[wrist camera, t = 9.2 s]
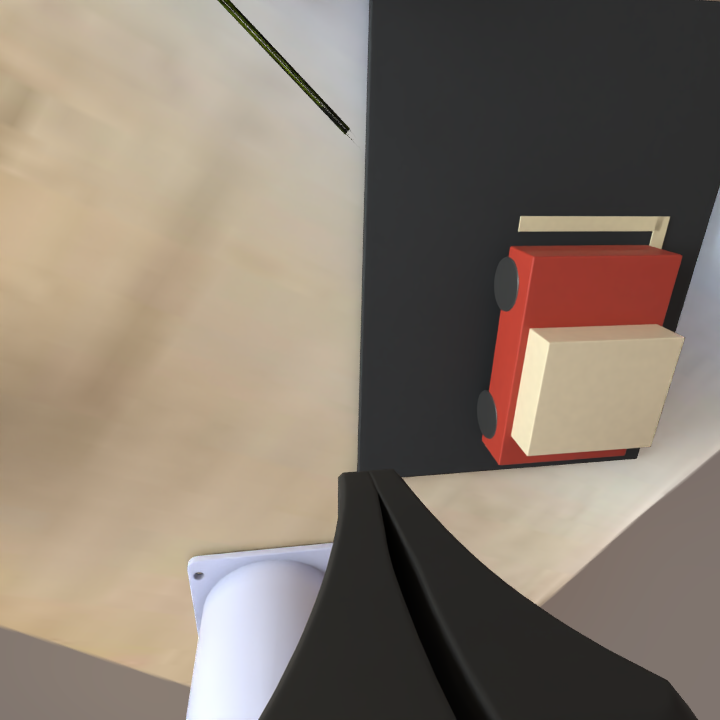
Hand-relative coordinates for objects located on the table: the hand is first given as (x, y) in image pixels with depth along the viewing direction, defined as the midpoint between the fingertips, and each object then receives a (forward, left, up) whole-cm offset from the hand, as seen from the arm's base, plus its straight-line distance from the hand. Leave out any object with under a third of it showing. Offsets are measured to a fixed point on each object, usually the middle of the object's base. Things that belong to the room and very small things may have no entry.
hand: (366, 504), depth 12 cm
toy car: (0, -7, -8) cm, 10 cm away
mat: (+3, -9, -10) cm, 14 cm away
